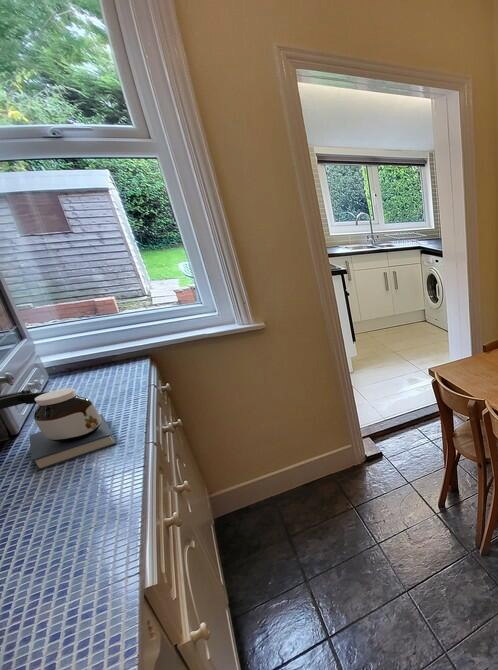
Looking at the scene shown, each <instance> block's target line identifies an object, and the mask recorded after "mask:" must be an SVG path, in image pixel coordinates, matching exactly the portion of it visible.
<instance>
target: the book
mask: <svg viewBox="0 0 498 670" xmlns="http://www.w3.org/2000/svg"><path fill="white" fill-rule="evenodd" d="M99 415H100V418H101V425H100V427H99V429H98V430H97V431H96V432H95V433H94V434H92V435H90V436H88V437H86V438H84V439H81V440H77V441H73V442H68V443H61V442H55V441H52V440H49V439H47V438H46V437H45V436H44V435H43V434H42V432H41V431H40V432H39V431H38V432H35V433H33V434H30V435H29V445H30V450H29V451H30V461H31V462H35V464H36V470H37V471H42V470H45V469H48V468H50V467H53V466H56V465H60V464H62V463H65V462H69V461H71V460H74V459H78V458H80V457H83V456H87V455H88V454H92V453H95V452H98V451H101V450H103V449H108V448H111V447H112V446H115V445H117V442H116V439H115V438H114V435H113V433H112V431H111V429H110V426H109V424H108V422H107V421H106V418H105V417H104V414H102V413H99Z"/></svg>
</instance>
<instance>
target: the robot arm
mask: <svg viewBox="0 0 498 670" xmlns="http://www.w3.org/2000/svg"><path fill="white" fill-rule="evenodd" d="M48 392H49V391H39V392H32V390H31V389H26V390H25V389H22V390H20V391H17V392H12V393H6V394H1V395H0V410H3V409H8V408H11V407H17V406H20V405H23V404H25V405H35V404H36V405H38V404H37V403H36V401H35V398H36V397H38V396H40V395H42V394H45V393H48ZM2 427H3V426H2V425H1V424H0V429H1V428H2Z"/></svg>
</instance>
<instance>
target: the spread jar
mask: <svg viewBox="0 0 498 670" xmlns="http://www.w3.org/2000/svg"><path fill="white" fill-rule="evenodd" d="M47 392H48V393H45V394H42V395H40V396H38V397H36V398H35V401H36V403H37V404H36V405H37V406H38V407H36V409H35V411H34V413H33V419H34V422H35V424H36V426H37V427H38V429H39V431H40V432H42V434H43V435H44V436H45V437H46V438H47V439H49V440H52V441H55V442H61V443H68V442H73V441H77V440H81V439H84V438H86V437H88V436H90V435H92V434H94V433H95V432H96V431H97V430H98V429H99V427H100V425H101V418H100V413H99V411H98V409H97V407H96V406H95V404H94V403H93V402H92V401H91V400H90V399H88V398H86V397H84V396H81V395H78V394H77V392H76V390H75V389H74V387H73V388H72V387H67V388H66V387H65V388H60V389H56V390H51V391H47Z"/></svg>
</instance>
